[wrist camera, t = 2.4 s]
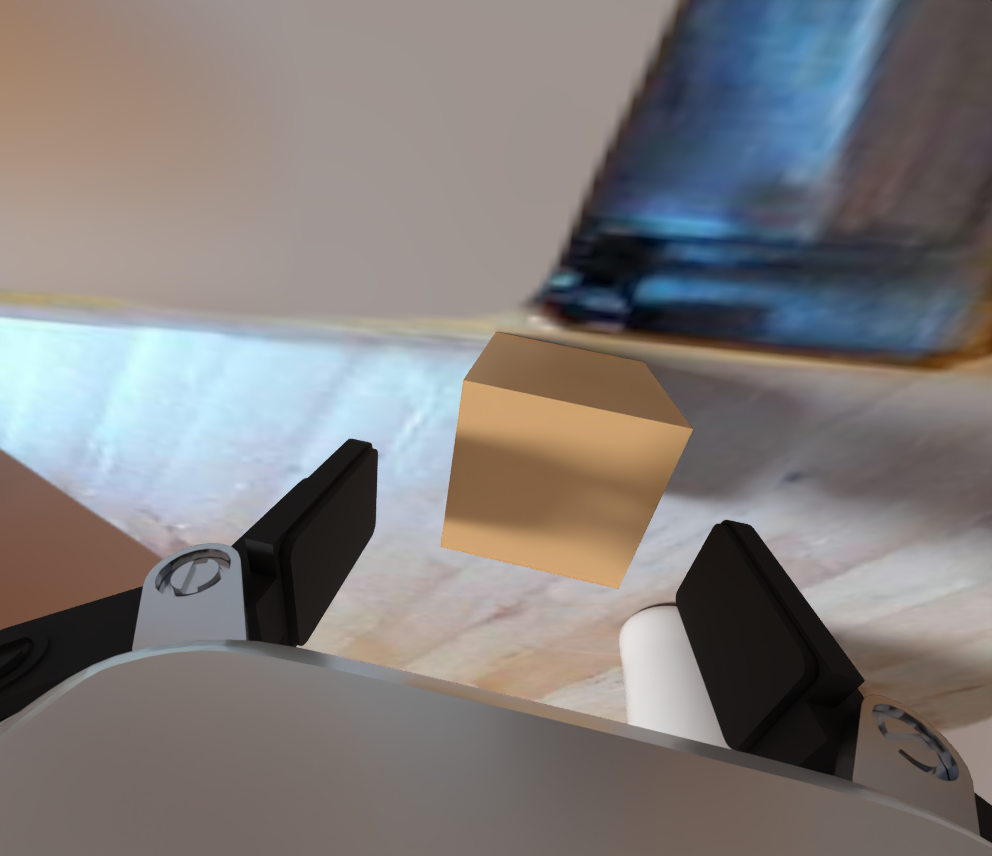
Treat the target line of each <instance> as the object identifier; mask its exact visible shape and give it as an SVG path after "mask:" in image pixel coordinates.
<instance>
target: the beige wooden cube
mask: <svg viewBox="0 0 992 856" xmlns="http://www.w3.org/2000/svg"><path fill="white" fill-rule="evenodd" d="M692 431H693V428H692V427H691V425H690V424H689V422H688V421H687V420H686V418H685V417H684V416H683V414H682V413H681V412H680V410H679V409H678V408H677V406H676V405H675V403H674V402H673V401H672V399H671V398H670V397H669V395H668V394H667V393H666V391H665V390H664V389H663V387H662V386H661V384H660V383H659V382H658V380H657V379H656V378H655V376H654V375H653V374H652V372H651V371H650V370H649V368H648V367H647V365H646V364H645V363H644V362H641V361H636V360H631V359H626V358H621V357H616V356H612V355H607V354H602V353H597V352H592V351H587V350H582V349H577V348H573V347H568V346H563V345H558V344H553V343H548V342H543V341H539V340H534V339H529V338H524V337H519V336H514V335H509V334H504V333H500V332H496V333H495V334H494V336H493V337H492V339H491V340H490V342H489V343H488V345H487V346H486V347H485V349H484V350H483V352H482V353H481V355H480V356H479V358H478V359H477V361H476V362H475V364H474V365H473V367H472V368H471V370H470V371H469V373H468V374H467V375H466V377H465V378H464V380H463V387H462V394H461V401H460V409H459V416H458V423H457V431H456V438H455V445H454V453H453V460H452V467H451V475H450V482H449V489H448V497H447V504H446V511H445V519H444V526H443V533H442V541H441V547H443V548H447V549H452V550H456V551H460V552H464V553H468V554H473V555H477V556H481V557H485V558H490V559H494V560H498V561H502V562H506V563H511V564H515V565H519V566H523V567H527V568H532V569H536V570H540V571H544V572H548V573H553V574H557V575H561V576H565V577H569V578H574V579H578V580H582V581H586V582H590V583H595V584H599V585H603V586H607V587H612V588H616V589H619V587H620V585H621V582H622V580H623V578H624V576H625V574H626V572H627V570H628V567H629V565H630V563H631V561H632V559H633V557H634V555H635V553H636V550H637V548H638V546H639V544H640V542H641V540H642V538H643V535H644V533H645V531H646V529H647V527H648V525H649V523H650V521H651V518H652V516H653V514H654V512H655V510H656V508H657V506H658V503H659V501H660V499H661V497H662V495H663V493H664V491H665V489H666V486H667V484H668V482H669V480H670V478H671V476H672V474H673V471H674V469H675V467H676V465H677V463H678V461H679V459H680V457H681V454H682V452H683V450H684V448H685V446H686V444H687V442H688V439H689V437H690V435H691V433H692Z"/></svg>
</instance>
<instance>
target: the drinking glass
mask: <svg viewBox="0 0 992 856" xmlns="http://www.w3.org/2000/svg"><path fill="white" fill-rule="evenodd" d="M619 649H620V656H621V662H622V668H623V676H624V688H625V701H626V713H627V724H630V725H634V726H638V727H642V728H646V729H650V730H654V731H658V732H662V733H666V734H670V735H674V736H679V737H683V738H687V739H691V740H695V741H699V742H703V743H707V744H711V745H715V746H719V747H723V748H727V749H731V748H730V747H728V745H727V744H726V742H725V740H724V737H723V735H722V732H721V729H720V726H719V723H718V721H717V718H716V715H715V712H714V709H713V707H712V704H711V701H710V698H709V695H708V693H707V690H706V687H705V684H704V681H703V679H702V676H701V673H700V670H699V667H698V665H697V662H696V659H695V656H694V653H693V651H692V648H691V645H690V642H689V639H688V637H687V634H686V631H685V628H684V625H683V623H682V620H681V617H680V614H679V611H678V609H677V606H657V607H652V608H648V609H645V610H642V611H640V612H638V613H636V614H634V615H633V616H631V617H630V618H629V619H628V620H627V621H626V622H625V624H624V625H623V627H622V629H621V631H620V635H619ZM732 750H733V749H732Z"/></svg>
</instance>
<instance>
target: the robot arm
mask: <svg viewBox="0 0 992 856" xmlns="http://www.w3.org/2000/svg"><path fill="white" fill-rule="evenodd" d="M377 466H378V451H377V450H376V449H373V448H372V444H371V443H370V442H365V441H360V440H356V439H348V440H347V441H346V442H345V443H344V444H343V445H342V446H341V447H340V448H339V449H338V450H337V451H336V452H335V453H333V454H332V455H331V456H330V457H329V458H328V459H327V460H326V461H325V462H324V463H323V464H322V465H321V466H320V467H319V468H318V469H317V470H316V471H315V472H314V473H313V474H311V475H310V476H309V477H308V478H305V479H303V480H302V481H300V482H299V483H298V484H297V485H296V486H295V487H294V488H293V489H292V490H291V491H290V492H288V493H287V494H286V495H285V496H284V497H283V498H282V499H281V500H280V501H279V502H278V503H277V504H276V505H275V506H274V507H272V508H271V509H270V510H269V511H268V512H267V513H266V514H265V515H264V516H263V517H262V518H261V519H260V520H259V521H258V522H257V523H255V524H254V525H253V526H252V527H251V528H250V529H249V530H248V531H247V532H246V533H245V534H244V535H243V536H242V537H241V538H239V539H238V540H237V541H236V542H235V543H234V544H233V545H232V546H228V545H224V544H218V543H207V544H200V545H195V546H191V547H188V548H185V549H182V550H180V551H178V552H176V553H174V554H172V555H170V556H168V557H166V558H165V559H164V560H162V561H161V562H160V563H158V564H157V565H156V566H155V567H154V568H153V569H152V570H151V571H150V572H149V574H148V575H147V577H146V580H145V582H144V585H143V586H142V587H139V588H136V589H133V590H129V591H126V592H123V593H119V594H116V595H112V596H110V597H106V598H103V599H99V600H96V601H93V602H90V603H86V604H83V605H80V606H76V607H74V608H70V609H67V610H64V611H60V612H57V613H54V614H50V615H47V616H44V617H41V618H37V619H34V620H31V621H27V622H24V623H21V624H18V625H15V626H11V627H8V628H5V629H2V630H0V856H992V805H990V804H989V803H987V802H986V801H985V800H984V799H982V798H981V797H980V796H978V795H977V794H976V793H974V788H973V781H972V778H971V775H970V772H969V770H968V767H967V766H966V764H965V762H964V761H963V759H962V758H961V756H960V755H959V753H958V752H957V751H956V750H955V749H954V748H953V746H952V745H951V744H950V743H949V742H948V740H947V739H946V738H945V737H944V736H943V735H942V734H941V733H940V732H938V731H937V730H936V729H935V728H934V727H933V726H932V725H931V724H930V723H929V722H927V721H926V720H925V719H923V718H922V717H921V716H919V715H918V714H917V713H915V712H914V711H912V710H911V709H909V708H907V707H905V706H904V705H902V704H900V703H899V702H897V701H894V700H892V699H889V698H887V697H884V696H878V695H870V696H867V697H865V698H864V697H863V695H862V694H861V693H860V691H859V690H858V687H859V686H860V685H861V684H862V683H863V682H864V681H865V680H864V679H863V677H862V676H861V675H860V673H859V672H858V670H857V669H856V668H855V666H854V665H853V664H852V662H851V661H850V659H849V658H848V657H847V655H846V654H845V653H844V651H843V650H842V649H841V647H840V646H839V644H838V643H837V642H836V640H835V639H834V638H833V636H832V635H831V633H830V632H829V631H828V629H827V628H826V627H825V625H824V624H823V623H822V621H821V620H820V618H819V617H818V616H817V614H816V613H815V612H814V610H813V609H812V608H811V606H810V605H809V603H808V602H807V601H806V599H805V598H804V597H803V595H802V594H801V592H800V591H799V590H798V588H797V587H796V586H795V584H794V583H793V582H792V580H791V579H790V577H789V576H788V575H787V573H786V572H785V571H784V569H783V568H782V566H781V565H780V564H779V562H778V561H777V560H776V558H775V557H774V556H773V554H772V553H771V551H770V550H769V549H768V547H767V546H766V545H765V543H764V542H763V540H762V539H761V538H760V536H759V535H758V534H757V532H756V531H755V530H754V528H753V527H752V526H751V525H748V524H744V523H739V522H735V521H730V520H724V521H723V522H721V524H716V525H715V526H714V527H713V528H712V530H711V532H710V534H709V536H708V537H707V539H706V541H705V543H704V544H703V546H702V548H701V550H700V552H699V553H698V555H697V557H696V559H695V561H694V562H693V564H692V566H691V568H690V569H689V571H688V573H687V575H686V577H685V578H684V580H683V582H682V584H681V585H680V587H679V589H678V591H677V593H676V605H677V609H678V611H679V614H680V617H681V620H682V623H683V625H684V628H685V631H686V634H687V637H688V639H689V642H690V645H691V648H692V651H693V653H694V656H695V659H696V662H697V665H698V667H699V670H700V673H701V676H702V679H703V681H704V684H705V687H706V690H707V693H708V695H709V698H710V701H711V704H712V707H713V709H714V712H715V715H716V718H717V721H718V723H719V726H720V729H721V732H722V735H723V737H724V740H725V742H726V744H727V745H728V747H730V748H731V749H727V748H723V747H719V746H715V745H711V744H707V743H703V742H699V741H695V740H691V739H687V738H683V737H679V736H674V735H670V734H666V733H662V732H658V731H654V730H650V729H646V728H642V727H638V726H634V725H630V724H625V723H621V722H617V721H613V720H609V719H605V718H601V717H596V716H592V715H588V714H584V713H580V712H576V711H571V710H567V709H563V708H559V707H555V706H551V705H546V704H542V703H538V702H534V701H530V700H525V699H521V698H517V697H513V696H509V695H504V694H500V693H496V692H492V691H488V690H483V689H479V688H475V687H471V686H466V685H462V684H458V683H453V682H449V681H445V680H441V679H436V678H432V677H428V676H423V675H419V674H415V673H411V672H406V671H402V670H398V669H393V668H389V667H385V666H381V665H376V664H372V663H367V662H363V661H358V660H353V659H349V658H344V657H339V656H335V655H330V654H325V653H321V652H316V651H311V650H307V649H302V648H297V647H296V646H297V645H299V646H303V645H304V644H305V643H306V642H307V641H308V639H309V638H310V636H311V634H312V633H313V631H314V630H315V628H316V626H317V625H318V623H319V621H320V620H321V618H322V617H323V615H324V613H325V612H326V610H327V608H328V607H329V605H330V604H331V602H332V600H333V599H334V597H335V595H336V594H337V592H338V590H339V589H340V587H341V586H342V584H343V582H344V581H345V579H346V577H347V576H348V574H349V573H350V571H351V569H352V568H353V566H354V564H355V563H356V561H357V560H358V558H359V556H360V555H361V553H362V551H363V550H364V548H365V547H366V545H367V543H368V542H369V540H370V538H371V537H372V535H373V532H374V529H375V524H376V497H377ZM732 749H733V750H732Z"/></svg>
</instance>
